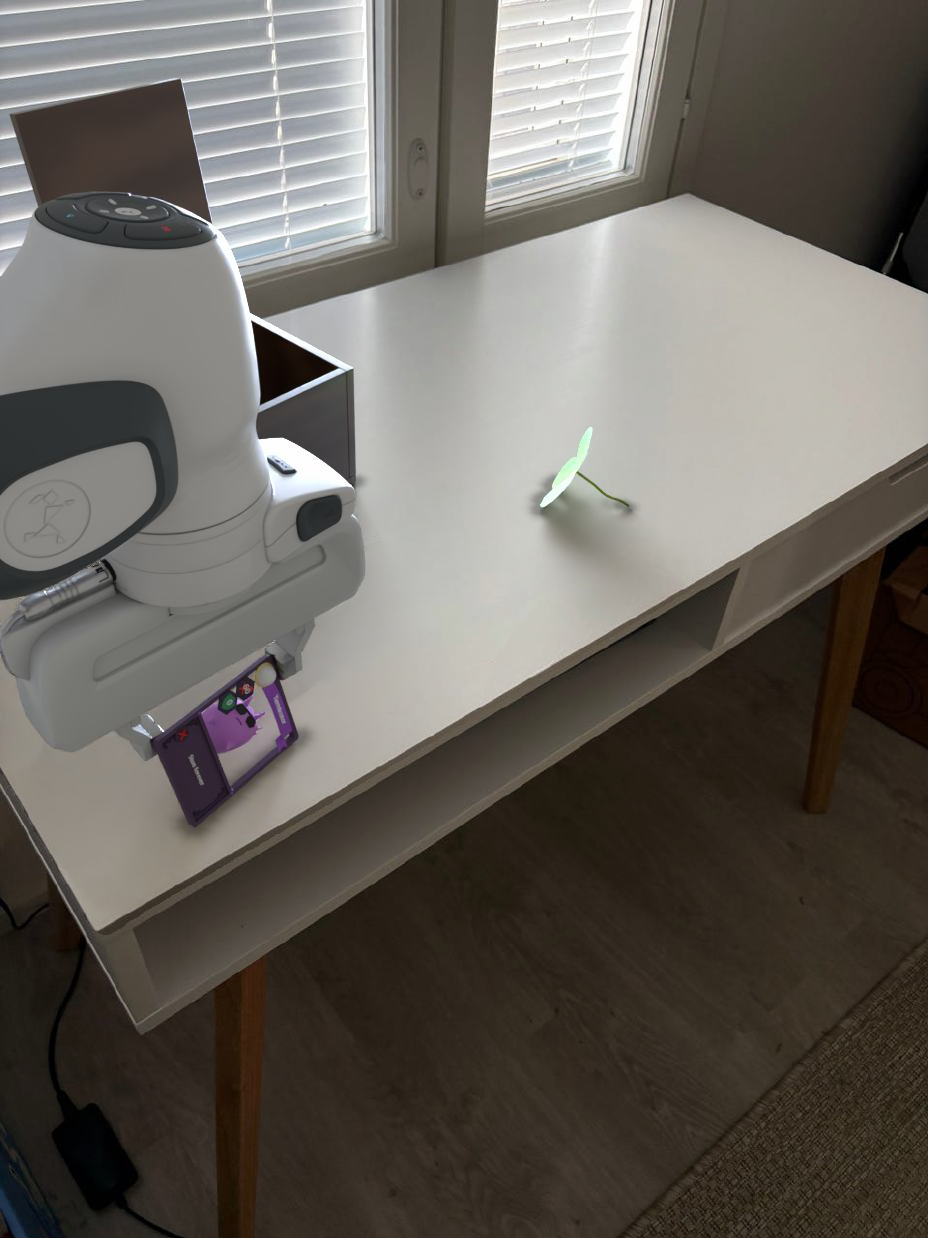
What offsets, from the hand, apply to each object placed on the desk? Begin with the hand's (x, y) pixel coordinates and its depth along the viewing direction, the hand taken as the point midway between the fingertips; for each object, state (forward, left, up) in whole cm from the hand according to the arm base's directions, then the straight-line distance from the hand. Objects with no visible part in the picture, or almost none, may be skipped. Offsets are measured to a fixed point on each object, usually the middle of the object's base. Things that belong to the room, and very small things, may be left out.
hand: (220, 708), depth 60 cm
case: (+20, +24, -5) cm, 31 cm away
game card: (-1, 0, -5) cm, 5 cm away
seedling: (+38, +1, -5) cm, 38 cm away
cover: (+20, +32, +15) cm, 41 cm away
